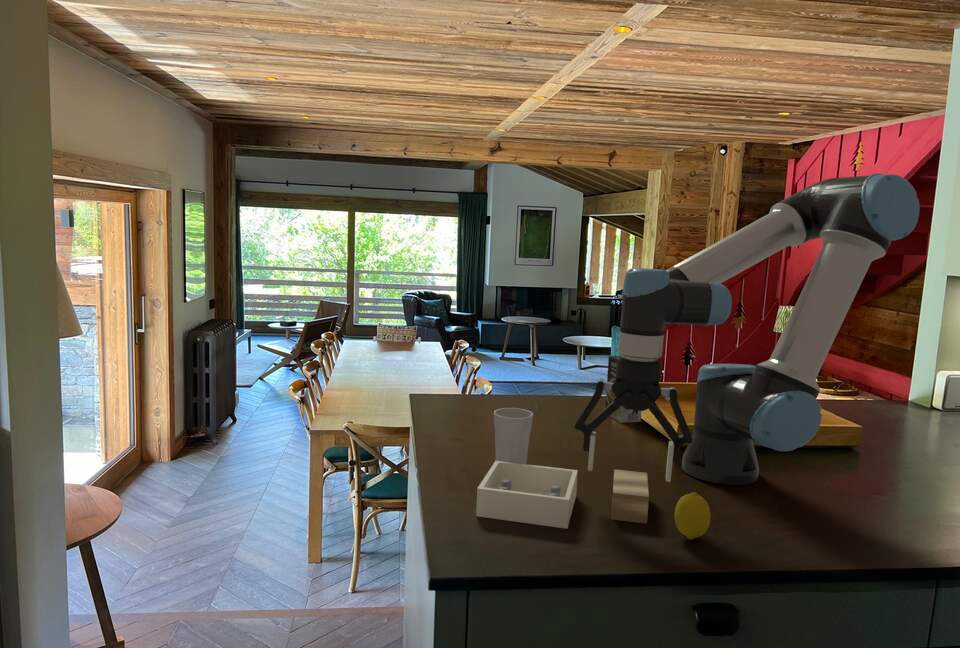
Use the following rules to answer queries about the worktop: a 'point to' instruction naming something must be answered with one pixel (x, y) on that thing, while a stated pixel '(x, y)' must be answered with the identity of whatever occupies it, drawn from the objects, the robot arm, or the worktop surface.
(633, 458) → the worktop surface
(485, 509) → the white open box
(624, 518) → the beige rectangular block
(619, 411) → the coffee box
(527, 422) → the cup
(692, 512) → the lemon
